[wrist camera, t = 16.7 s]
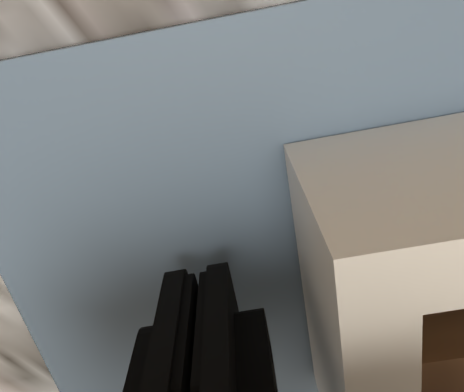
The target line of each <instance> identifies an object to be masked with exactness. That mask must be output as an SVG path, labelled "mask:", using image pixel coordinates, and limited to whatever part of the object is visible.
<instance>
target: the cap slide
mask: <svg viewBox="0 0 464 392" xmlns="http://www.w3.org/2000/svg"><path fill="white" fill-rule="evenodd" d="M283 146H284V153H285V161H286V168H287V176H288V183H289V191H290V198H291V205H292V213H293V220H294V228H295V235H296V243H297V250H298V257H299V265H300V272H301V280H302V287H303V295H304V302H305V309H306V317H307V324H308V332H309V339H310V347H311V354H312V361H313V369H314V376H315V380H316V384H317V388H318V392H421V386H422V326H423V315H427V314H433V313H440V312H446V311H453V310H459V309H464V112H462V113H456V114H451V115H445V116H439V117H434V118H428V119H423V120H417V121H412V122H406V123H400V124H395V125H389V126H384V127H378V128H373V129H367V130H361V131H356V132H350V133H345V134H339V135H334V136H328V137H322V138H317V139H311V140H306V141H300V142H295V143H289V144H284V145H283Z"/></svg>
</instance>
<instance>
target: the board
mask: <svg viewBox="0 0 464 392" xmlns="http://www.w3.org/2000/svg"><path fill="white" fill-rule="evenodd" d="M462 112H464V0H300V1H295V2H290V3H285V4H280V5H275V6H270V7H265V8H260V9H255V10H250V11H245V12H240V13H235V14H230V15H225V16H219V17H214V18H209V19H204V20H199V21H194V22H189V23H184V24H179V25H174V26H169V27H164V28H159V29H154V30H149V31H144V32H139V33H134V34H129V35H124V36H119V37H114V38H109V39H103V40H98V41H93V42H88V43H83V44H78V45H73V46H68V47H63V48H58V49H53V50H48V51H43V52H38V53H33V54H28V55H23V56H18V57H13V58H8V59H3V60H0V275H1V277H2V279H3V281H4V283H5V285H6V286H7V288H8V290H9V292H10V294H11V296H12V298H13V300H14V302H15V304H16V306H17V308H18V310H19V312H20V314H21V316H22V318H23V320H24V322H25V324H26V326H27V328H28V330H29V332H30V334H31V336H32V338H33V340H34V342H35V344H36V346H37V348H38V350H39V352H40V354H41V356H42V358H43V360H44V362H45V364H46V366H47V368H48V370H49V372H50V374H51V376H52V378H53V380H54V381H55V383H56V385H57V387H58V389H59V391H60V392H123V388H124V384H125V380H126V376H127V372H128V368H129V364H130V360H131V356H132V352H133V348H134V344H135V340H136V337H137V333H138V331H139V329H140V328H141V327H146V326H152V325H153V323H154V318H155V313H156V309H157V304H158V299H159V294H160V290H161V285H162V280H163V276H164V273H165V272H170V271H176V270H182V269H186V270H187V272H188V274H191V273H194V274H195V276H196V279H197V283H198V284H199V273H200V272H203V271H206V267H207V265H212V264H218V263H224V262H228V265H229V269H230V273H231V278H232V282H233V287H234V291H235V296H236V300H237V305H238V309H239V312H240V311H246V310H252V309H259V308H264V311H265V316H266V321H267V326H268V332H269V337H270V343H271V349H272V355H273V361H274V368H275V375H276V382H277V389H278V392H318V388H317V384H316V380H315V376H314V369H313V361H312V354H311V347H310V339H309V332H308V324H307V317H306V309H305V302H304V295H303V287H302V280H301V272H300V265H299V257H298V250H297V243H296V235H295V228H294V220H293V213H292V205H291V198H290V191H289V183H288V176H287V168H286V161H285V153H284V146H283V145H284V144H289V143H295V142H300V141H306V140H311V139H317V138H322V137H328V136H334V135H339V134H345V133H350V132H356V131H361V130H367V129H373V128H378V127H384V126H389V125H395V124H400V123H406V122H412V121H417V120H423V119H428V118H434V117H439V116H445V115H451V114H456V113H462Z"/></svg>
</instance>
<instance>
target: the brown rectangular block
mask: <svg viewBox="0 0 464 392" xmlns="http://www.w3.org/2000/svg"><path fill="white" fill-rule="evenodd" d="M421 392H464V309H459V310H453V311H446V312H440V313H433V314H427V315H423V326H422V386H421Z"/></svg>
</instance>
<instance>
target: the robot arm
mask: <svg viewBox="0 0 464 392" xmlns="http://www.w3.org/2000/svg"><path fill="white" fill-rule="evenodd" d="M123 392H278V389H277V382H276V375H275V368H274V361H273V355H272V349H271V343H270V337H269V332H268V326H267V321H266V316H265V311H264V308H259V309H252V310H246V311H240V312H239V309H238V305H237V300H236V296H235V291H234V287H233V282H232V278H231V273H230V269H229V265H228V262H224V263H218V264H212V265H207V267H206V271H203V272H200V273H199V284H198V283H197V279H196V276H195V274H194V273H191V274H188V272H187V270H186V269H182V270H176V271H170V272H165V273H164V276H163V280H162V285H161V290H160V294H159V299H158V304H157V309H156V313H155V318H154V323H153V325H152V326H146V327H141V328H140V329H139V331H138V333H137V337H136V340H135V344H134V348H133V352H132V356H131V360H130V364H129V368H128V372H127V376H126V380H125V384H124V388H123Z"/></svg>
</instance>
